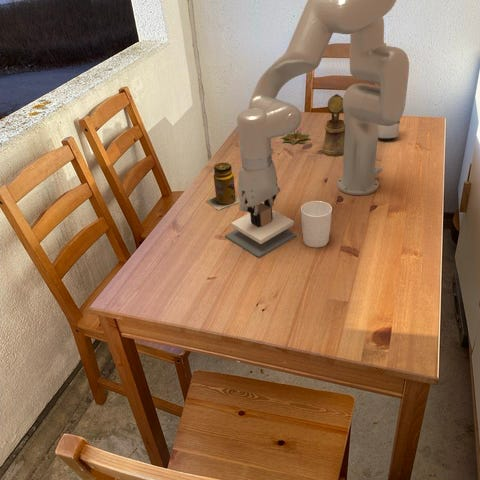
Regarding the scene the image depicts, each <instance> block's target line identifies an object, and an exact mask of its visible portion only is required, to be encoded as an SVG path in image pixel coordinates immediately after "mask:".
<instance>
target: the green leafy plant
mask: <svg viewBox="0 0 480 480" xmlns="http://www.w3.org/2000/svg"><path fill="white" fill-rule="evenodd" d="M301 131H302V129H301V128H299V129H298V128H297V129H296V130H295V131H294V132H293V133H290V134H288V135H284V136H282V139H284V140H283V141H282V142H281V143H283V144H285V143H291V144H292V146H294V145H295V144H296V143H298V144H300V143H301V144H305V145H306V140H310V138H309V134H302V133H301Z"/></svg>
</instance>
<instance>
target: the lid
mask: <svg viewBox="0 0 480 480" xmlns="http://www.w3.org/2000/svg"><path fill="white" fill-rule="evenodd" d="M252 209H253V207H252ZM258 214H260V224H261V226H260V227H257V226H255V225H254V224H252V223H251V216H250V213H249V212H247V213H246V214H245V215H242V216H241V217H239V218H237V219H235V220H234V221H232V222H231V223H230V225H231V227H232V228H233V229H234V230H236V229H237V230H238V231H240V232H241V233H243V234H245V235H246V236H248V237H250V238H251V239H253V240H255V241H256V242H258V243H260V244H262V243H264V242H266V241H267V240H269V239H271V238H272V237H274V236H276V235H277V234H279V233H281V232H282V231H284V230H286V229H288V230H289V229H290V228H291V227H292V226H294V225H295V220H293V219H291V218H289V217H287V216H285V215H283V214H281V213H279V212H278V211H276V210H274V209H272V217H273V220H271V207H269V206H267V205H265V204H264V202H262V203H260V204H258Z"/></svg>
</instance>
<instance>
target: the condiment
mask: <svg viewBox="0 0 480 480" xmlns="http://www.w3.org/2000/svg"><path fill="white" fill-rule="evenodd" d="M213 169H214V171H213V180H214V182H213V184H214V190H215V192H214V193H215V197H213V198H209V199H207V200H205V201H206V202H207V203H208V204H209V205H210V206H212V207H213V208H215V210H217V211H220V210H222V209H224V208H227V207H230V206H233V205H235V204H238V203H241V201H240V199H239V198H238V197H237V196H236V187H235V177H234V176H235V175H234V173H233V169H232V164H230V163H229V162H220V163H219V162H218V163H216V164H215V165H214V167H213Z"/></svg>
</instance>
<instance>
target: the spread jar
mask: <svg viewBox="0 0 480 480" xmlns="http://www.w3.org/2000/svg"><path fill="white" fill-rule="evenodd" d="M400 121H401V119H400V120H399V122H398V123H396V124H395V125H393V126H383V125H379V124H377V129H378V140H377V141H382V142H391V141H394V140H396V139H397V138H398V137H399V133H400V132H399V131H400V126H401V125H400V124H401V123H400Z"/></svg>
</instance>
